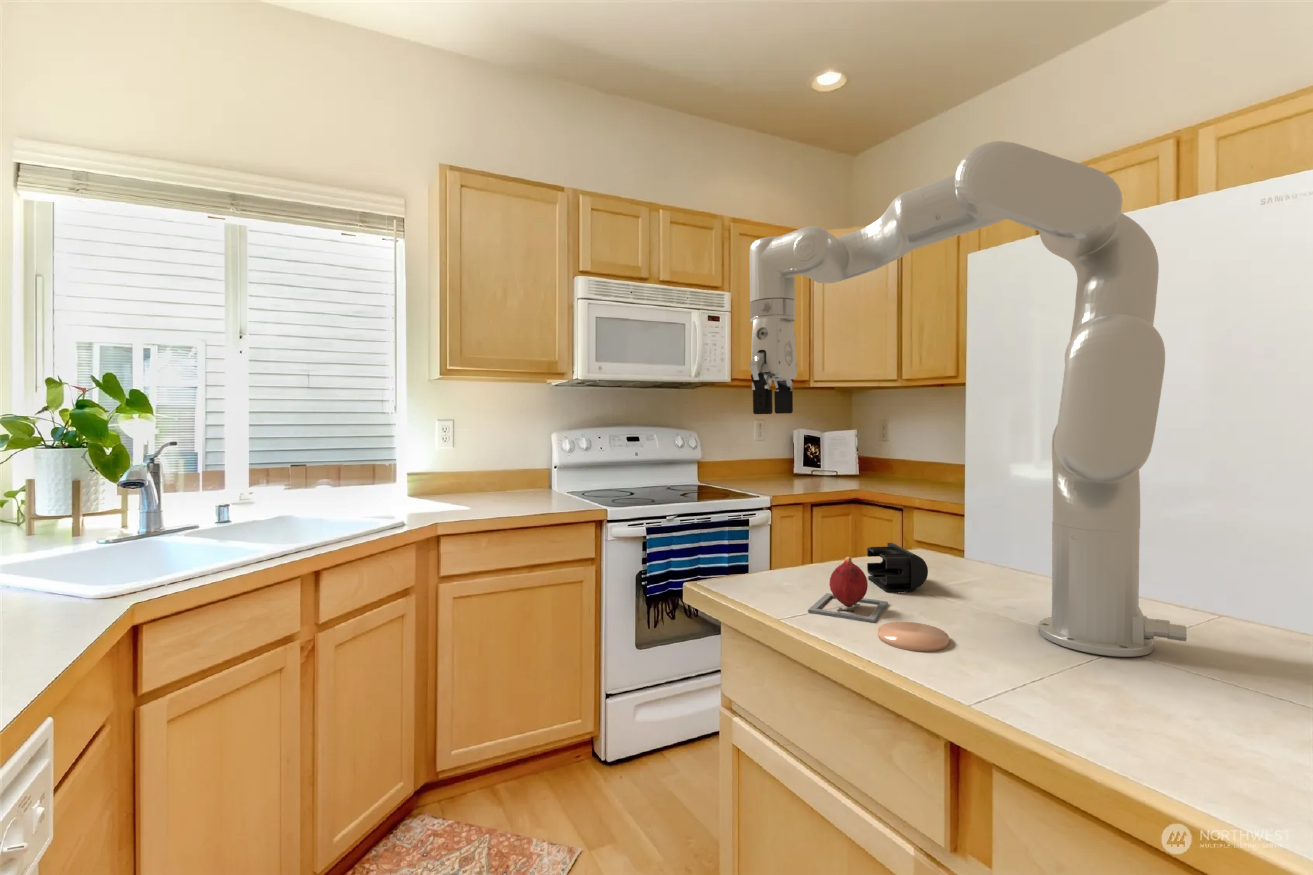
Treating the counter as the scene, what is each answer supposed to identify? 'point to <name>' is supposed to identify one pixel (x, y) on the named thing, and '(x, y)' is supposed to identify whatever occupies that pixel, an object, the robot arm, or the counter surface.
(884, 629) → the disc
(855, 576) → the onion
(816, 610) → the frame
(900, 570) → the end cap
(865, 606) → the counter surface
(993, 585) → the counter surface
